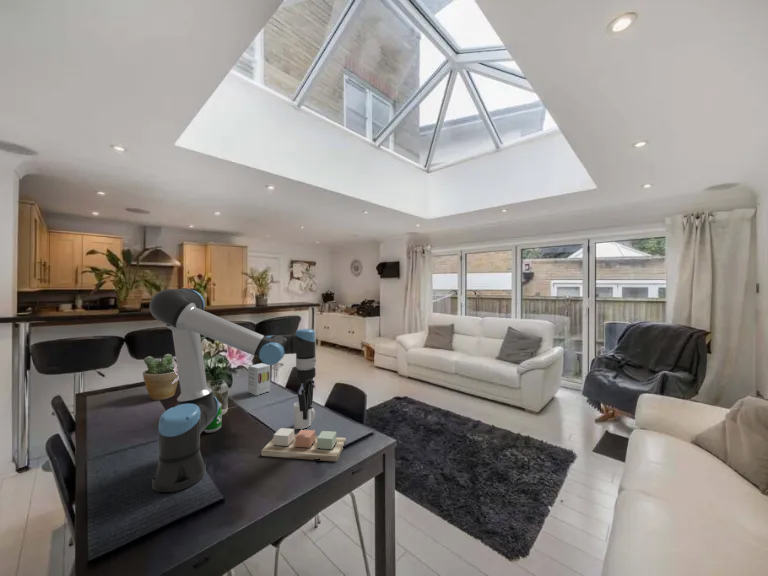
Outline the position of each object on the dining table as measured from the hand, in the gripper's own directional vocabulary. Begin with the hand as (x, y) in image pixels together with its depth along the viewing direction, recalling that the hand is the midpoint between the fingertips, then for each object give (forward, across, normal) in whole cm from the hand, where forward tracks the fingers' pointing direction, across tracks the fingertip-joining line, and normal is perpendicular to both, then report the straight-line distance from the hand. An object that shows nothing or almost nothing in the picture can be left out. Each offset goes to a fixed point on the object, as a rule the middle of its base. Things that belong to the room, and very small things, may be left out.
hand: (306, 426), depth 124 cm
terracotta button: (+7, 0, 0) cm, 7 cm away
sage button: (+7, 0, -9) cm, 11 cm away
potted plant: (+8, +44, +104) cm, 114 cm away
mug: (+10, +18, +8) cm, 22 cm away
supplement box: (+9, +58, +52) cm, 79 cm away
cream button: (+7, 0, +9) cm, 12 cm away
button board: (+9, 0, 0) cm, 9 cm away
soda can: (+9, +10, +48) cm, 50 cm away
